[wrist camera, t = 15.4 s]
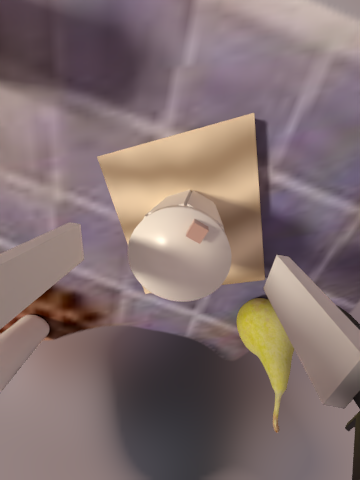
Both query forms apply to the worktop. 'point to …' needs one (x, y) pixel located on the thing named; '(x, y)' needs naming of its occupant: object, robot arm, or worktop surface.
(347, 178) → the worktop surface
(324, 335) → the robot arm
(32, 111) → the worktop surface
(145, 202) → the board
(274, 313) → the fruit
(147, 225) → the white domed knob
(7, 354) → the drinking glass
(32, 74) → the worktop surface
